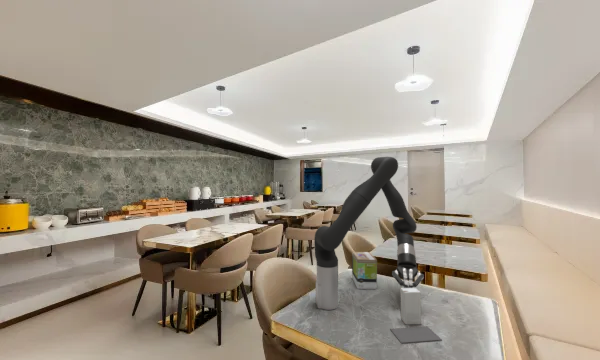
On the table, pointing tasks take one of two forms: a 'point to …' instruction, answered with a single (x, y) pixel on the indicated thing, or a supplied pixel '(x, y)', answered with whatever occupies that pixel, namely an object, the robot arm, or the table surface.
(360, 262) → the tea box
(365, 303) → the table surface
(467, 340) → the table surface
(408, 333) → the mat
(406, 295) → the skincare box
